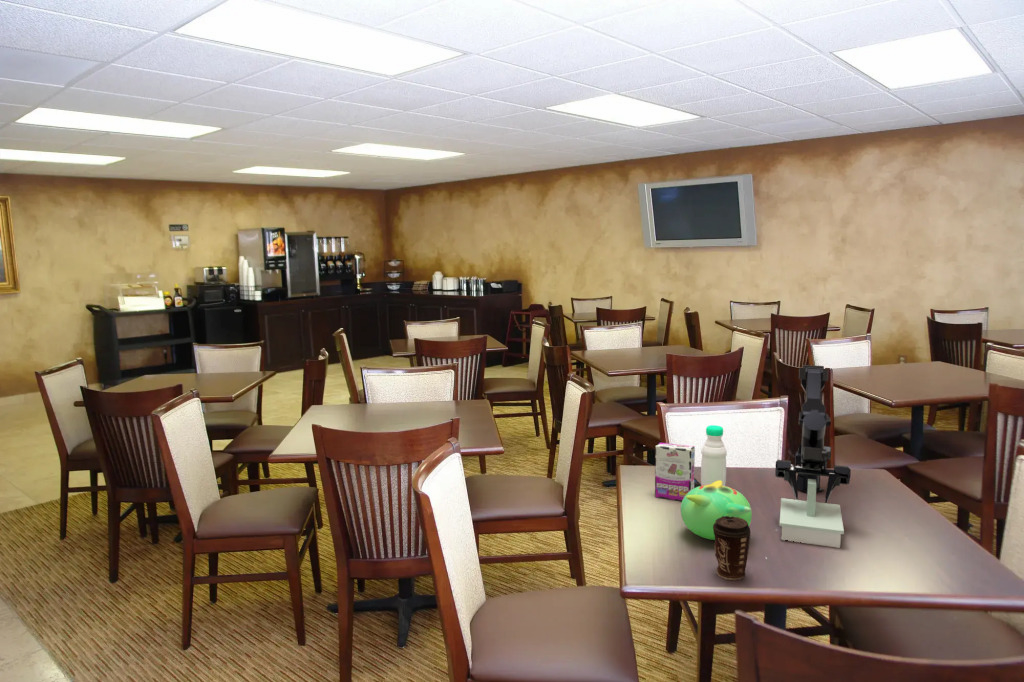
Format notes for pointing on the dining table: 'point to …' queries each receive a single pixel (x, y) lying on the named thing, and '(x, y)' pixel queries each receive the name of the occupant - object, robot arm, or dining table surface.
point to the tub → (811, 537)
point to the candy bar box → (674, 470)
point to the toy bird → (712, 507)
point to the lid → (811, 513)
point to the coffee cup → (731, 546)
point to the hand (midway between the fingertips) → (811, 500)
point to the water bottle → (713, 457)
